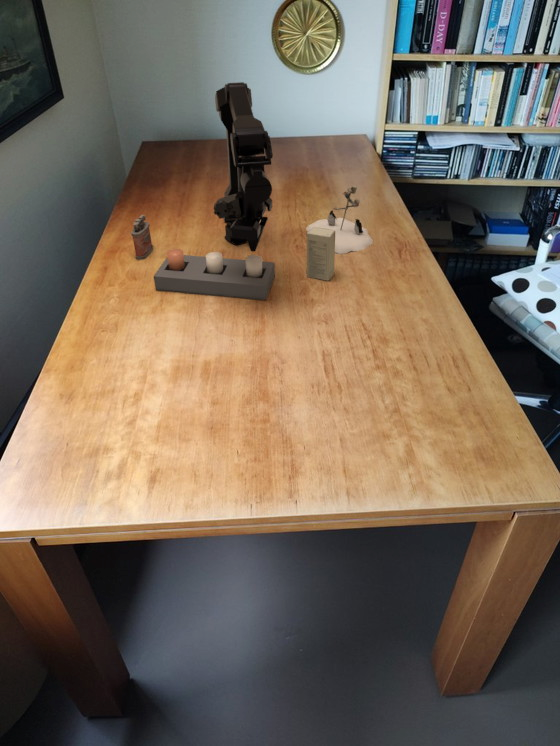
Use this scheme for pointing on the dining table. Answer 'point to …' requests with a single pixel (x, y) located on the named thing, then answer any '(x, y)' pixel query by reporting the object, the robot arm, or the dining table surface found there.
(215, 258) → the button
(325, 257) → the skincare box
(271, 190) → the robot arm
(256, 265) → the button
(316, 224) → the figurine
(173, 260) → the terracotta button
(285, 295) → the dining table surface
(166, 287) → the button panel
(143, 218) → the lighter
